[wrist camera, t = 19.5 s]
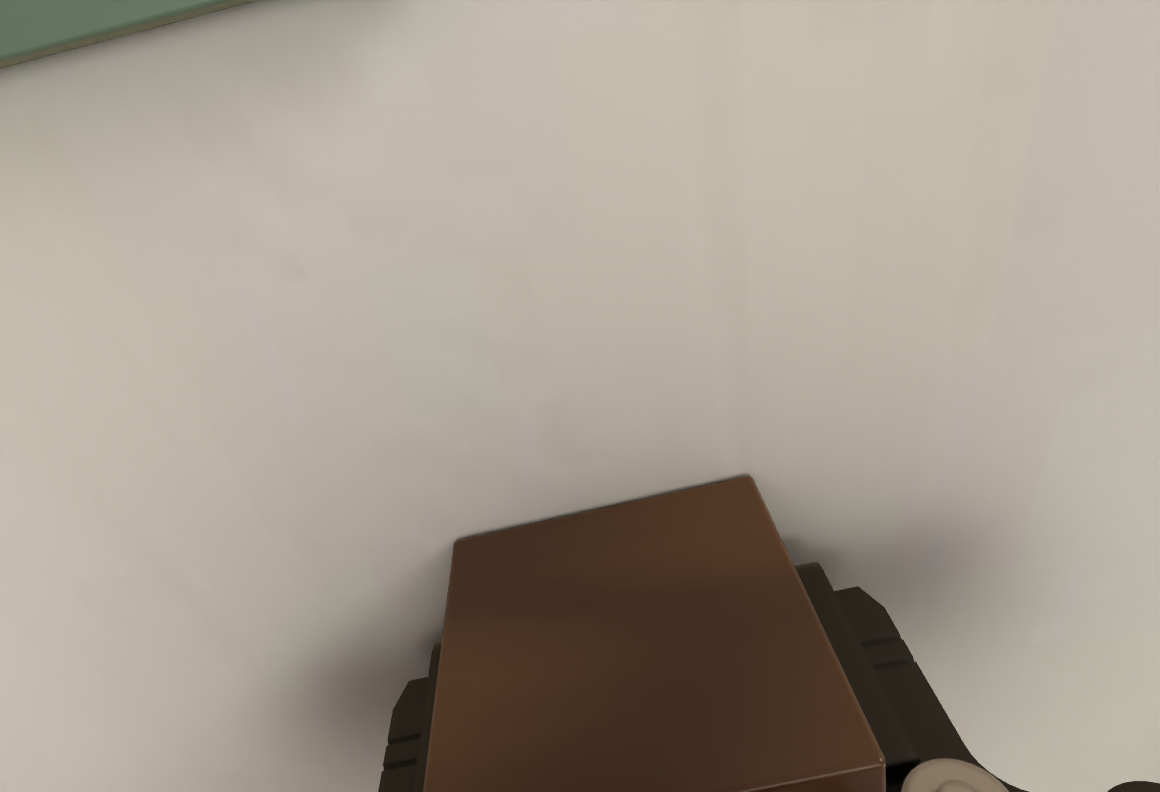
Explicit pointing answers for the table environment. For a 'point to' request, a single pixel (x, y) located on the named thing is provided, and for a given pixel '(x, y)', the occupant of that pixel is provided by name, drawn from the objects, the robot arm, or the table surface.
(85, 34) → the base
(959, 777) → the robot arm
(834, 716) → the walnut block
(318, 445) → the table surface
